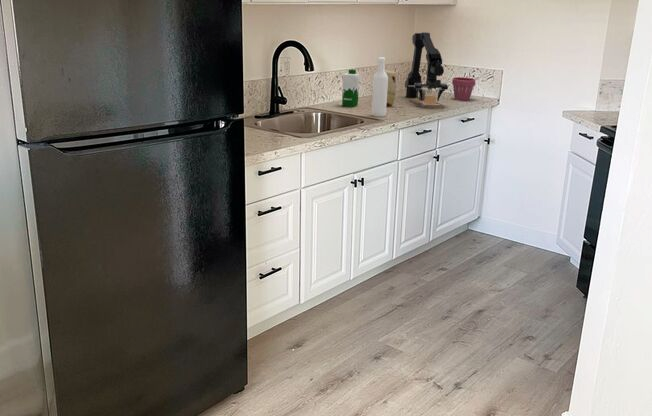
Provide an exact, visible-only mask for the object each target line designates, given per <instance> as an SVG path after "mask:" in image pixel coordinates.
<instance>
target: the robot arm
mask: <svg viewBox="0 0 652 416" xmlns="http://www.w3.org/2000/svg"><path fill="white" fill-rule="evenodd" d="M411 40H412V45H413V47H414V48H413V54H412V55H413V57H412V63H411V64H412V65H411V70H410V72H409V73H408V74H407V77H406V80H405V82H404V88H406V91H405V92H406V93H405V96H404V98H408V99H410V98H419V95H420V97H421V101H422V90H423V88H426V89H427V88H428V89H434V90H435V89H438V92H437V96H436V102H439V101H440V98H441V96H442V94H443V92H445V91H446V90H449V86H448V84H447V83H445V82H444V83H441V82H442V79H438V78H437V77H440V76H442V75H444V72H445V68H444V67H443V66H442V64H443V58H442V55H441V53H440V51H439V49H438V48H436V47H435V46H434V42H433V40H432V39H431V34H430V32H427V31H426V32H425V31H423V32H415V33H414V34H412V38H411ZM423 49H425V51H426V55H425V58H426V59H425V60H426V62H427V63H426V65H427V69H426V80H425V81H426V83H425V84H424V83H422V75H421V74H420V68H421V63H422V62H421V61H422V60H421V59H422V54H423V53H422V52H423Z"/></svg>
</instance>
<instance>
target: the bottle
mask: <svg viewBox="0 0 652 416" xmlns="http://www.w3.org/2000/svg"><path fill="white" fill-rule="evenodd" d="M385 67H386V57H383V56H379V57H378V59H377V71H376V72H375V73H374V74H373V78H372V91H371V92H372V94H371V95H372V96H371V109H370V110H371V112H370V113H371V116H373V117H377V118H379V117H380V118H381V117H387V116H386V115H387V106H386V105H387V88H388V76H387V74H386V73H385V71H386V68H385Z"/></svg>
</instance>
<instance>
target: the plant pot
mask: <svg viewBox="0 0 652 416" xmlns="http://www.w3.org/2000/svg"><path fill="white" fill-rule="evenodd" d="M476 81H477V80H476V78H472V77H459V76H457V77H453V78H452V82H451V85H452V86H453V95H454V101H455V100H456V101H470V99H471V96H472V94H473V93H472V92H473V90H474V87H475V86H476Z"/></svg>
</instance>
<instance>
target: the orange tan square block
mask: <svg viewBox="0 0 652 416" xmlns="http://www.w3.org/2000/svg"><path fill="white" fill-rule="evenodd" d="M436 102H437V96H436V95H429V94H425V95H424V103H425V104H435V103H436Z"/></svg>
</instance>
